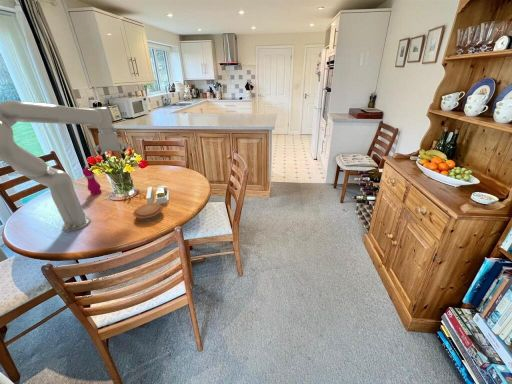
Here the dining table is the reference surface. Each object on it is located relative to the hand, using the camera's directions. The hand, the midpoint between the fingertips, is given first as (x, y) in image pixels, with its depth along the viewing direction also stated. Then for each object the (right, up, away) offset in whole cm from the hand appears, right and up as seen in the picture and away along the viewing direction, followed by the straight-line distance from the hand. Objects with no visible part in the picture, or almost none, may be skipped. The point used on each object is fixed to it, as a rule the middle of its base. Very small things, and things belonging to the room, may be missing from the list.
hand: (114, 160), depth 139 cm
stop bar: (+23, -22, +14) cm, 35 cm away
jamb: (+21, -23, +13) cm, 34 cm away
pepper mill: (-26, -20, +22) cm, 39 cm away
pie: (+23, -33, -5) cm, 40 cm away
